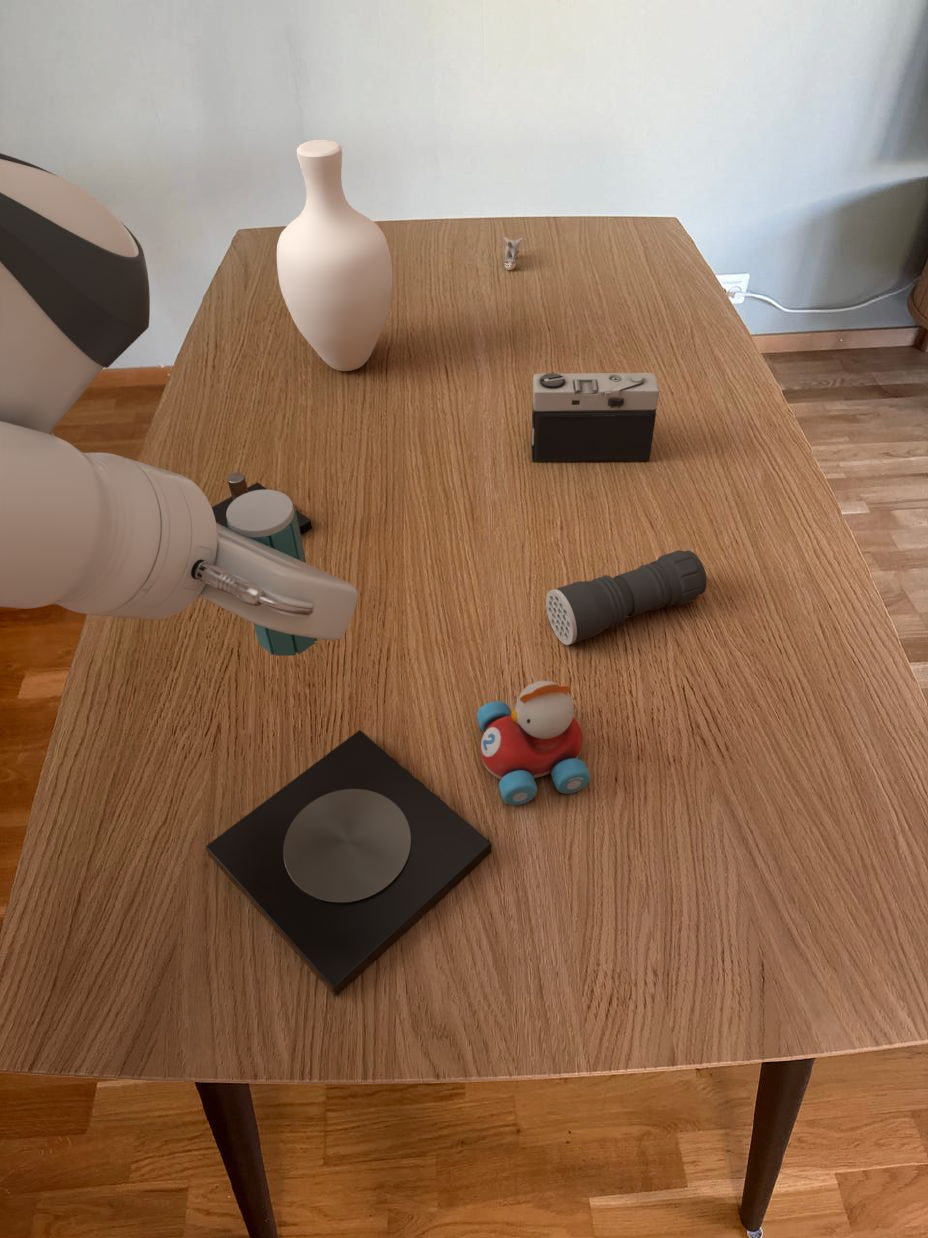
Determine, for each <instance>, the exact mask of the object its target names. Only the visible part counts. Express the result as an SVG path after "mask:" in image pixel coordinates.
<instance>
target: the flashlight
mask: <svg viewBox="0 0 928 1238" xmlns="http://www.w3.org/2000/svg"><path fill="white" fill-rule="evenodd" d="M707 584H708V579H707V572H706V570H705V566H704V565H703V562H702V560H701V559H700V558H699V556H698V555H697V554H696V553H695V552H693V551H691V550H682V549H681V550H674V551H672V552H669V553H666V554H662V555H660V556H659V557H658V558H657V559H656V560H654V561H651V562H650V563H646V564H644V565H640V566H639V567H637V568H636V569H633V570H630V571H627V572H624V573H621V574H617V575H615V576H613V577H612V576H610V575H604V574H603V575H602V576H599V577H597V578H593V579H592V580H585V581H583V580H581V581H576V582H572V583H569V584H566V585H563V586H560V587H557V588H554V589H551V590H548V592H547V594H546V597H545V608H546V615H547V618H548V621H549V624H550V626H551V629H552V631H553V633H554V634H555V636H556V638H557V639H558V640H559V641H560V642H561V644H563V645H565V646H570V645H573V644H575V643H578V642H581V641H583V640H586V639H589V638H592V637H595V636H597V635H599V634H601V633H602V632H603V631H605V630H606V629H611V628H613V627H617V626H618V625H619V626H620V625H622V624H624V622H625V621H626V619H627V617H628V618H631V617H634V616H637V615H639V614H643V613H645V612H648V611H656V610H658V609H663V608H664V607H669V606H681V605H684V604H688V603H691V602H693V601H696V600H697V599H698V598H699V597H700V596H701V595H703V594H704V593H705V592H706V589H707Z"/></svg>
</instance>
